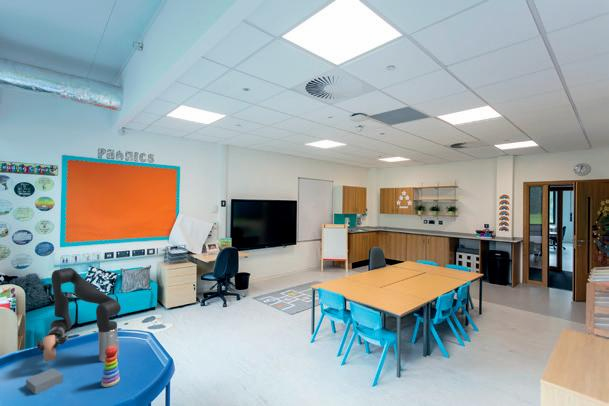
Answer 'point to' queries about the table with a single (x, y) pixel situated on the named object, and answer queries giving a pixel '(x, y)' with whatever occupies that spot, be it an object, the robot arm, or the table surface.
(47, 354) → the terracotta peg
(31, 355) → the table surface
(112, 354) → the stacking toy
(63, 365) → the table surface
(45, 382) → the slate base block
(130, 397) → the table surface
